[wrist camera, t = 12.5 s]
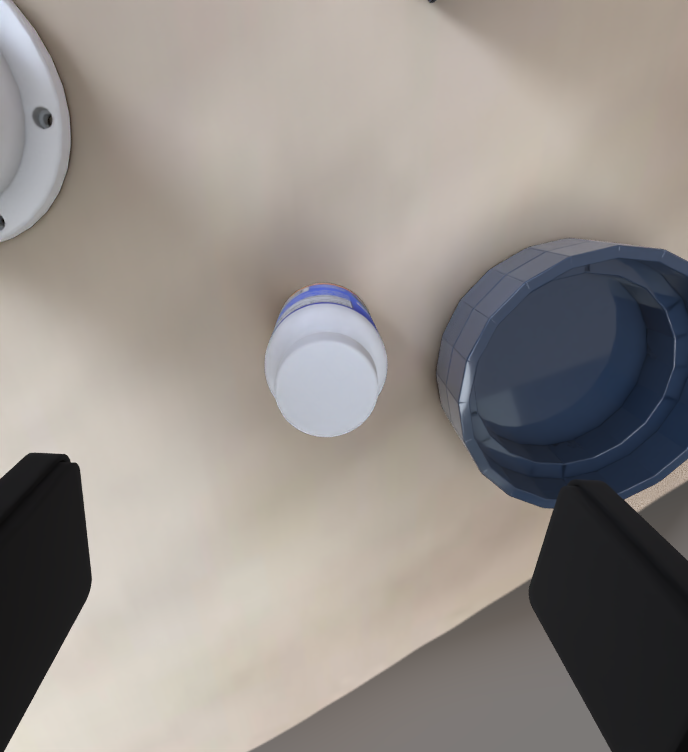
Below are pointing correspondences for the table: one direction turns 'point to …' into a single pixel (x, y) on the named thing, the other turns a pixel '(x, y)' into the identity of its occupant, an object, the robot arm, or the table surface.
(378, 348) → the pill bottle
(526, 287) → the bowl
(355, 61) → the table surface
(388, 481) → the table surface
